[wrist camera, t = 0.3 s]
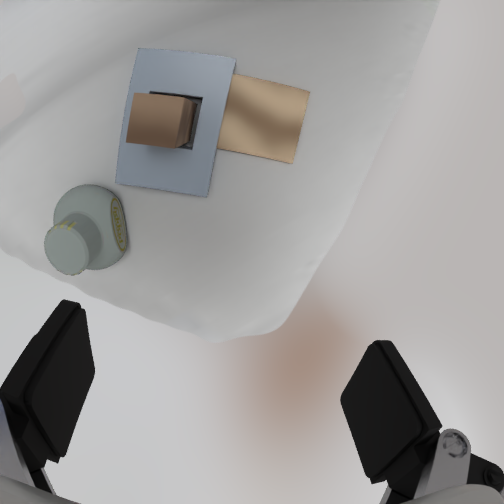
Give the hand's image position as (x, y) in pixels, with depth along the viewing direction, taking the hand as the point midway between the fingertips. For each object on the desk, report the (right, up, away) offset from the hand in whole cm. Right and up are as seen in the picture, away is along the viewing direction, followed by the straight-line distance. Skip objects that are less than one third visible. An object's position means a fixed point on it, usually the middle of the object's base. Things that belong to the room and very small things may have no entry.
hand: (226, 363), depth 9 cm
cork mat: (+2, +19, +23) cm, 30 cm away
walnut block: (-8, +19, +23) cm, 31 cm away
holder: (-8, +19, +23) cm, 30 cm away
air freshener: (-19, +8, +27) cm, 34 cm away
